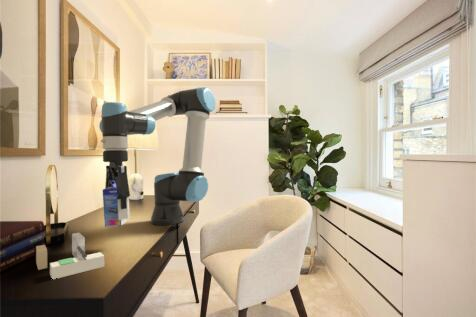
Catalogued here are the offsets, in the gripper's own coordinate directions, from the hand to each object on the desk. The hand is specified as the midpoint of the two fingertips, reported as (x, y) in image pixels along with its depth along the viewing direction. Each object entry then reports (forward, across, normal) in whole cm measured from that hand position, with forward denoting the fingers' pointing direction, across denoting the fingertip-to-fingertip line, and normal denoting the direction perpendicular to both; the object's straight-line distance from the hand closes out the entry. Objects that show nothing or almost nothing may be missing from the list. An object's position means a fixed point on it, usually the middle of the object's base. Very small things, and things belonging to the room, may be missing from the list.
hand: (117, 216), depth 89 cm
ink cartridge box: (+3, 0, 0) cm, 3 cm away
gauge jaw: (+10, +5, -12) cm, 16 cm away
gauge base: (+11, +5, -15) cm, 19 cm away
